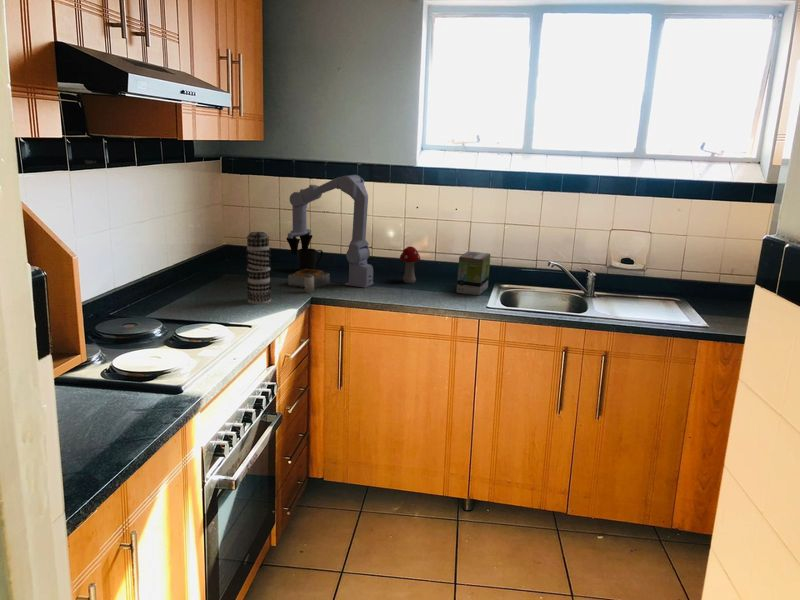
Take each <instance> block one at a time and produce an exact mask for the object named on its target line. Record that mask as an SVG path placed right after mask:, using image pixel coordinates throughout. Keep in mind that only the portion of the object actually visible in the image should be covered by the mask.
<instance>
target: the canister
mask: <svg viewBox="0 0 800 600" xmlns="http://www.w3.org/2000/svg"><path fill="white" fill-rule="evenodd" d="M304 280H305V288H304V293H305V292H307V293H306V294H312V293H311V292H313V293H315V289H314V276H312V275H304Z"/></svg>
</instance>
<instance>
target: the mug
mask: <svg viewBox="0 0 800 600" xmlns="http://www.w3.org/2000/svg"><path fill="white" fill-rule="evenodd" d="M318 252H320V254H319V257H318V260H317V253H318ZM323 254H324V251H323V249H315V248H310V247H308V251H307V252H302V248H298V253H297V262H298V265H299V269H300V270H303V269H312V270H316V269H317V267H318V265H319V264H320V261H321V260H322V257H323ZM300 270H299V271H300Z"/></svg>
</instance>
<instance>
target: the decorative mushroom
mask: <svg viewBox="0 0 800 600" xmlns="http://www.w3.org/2000/svg"><path fill="white" fill-rule="evenodd" d="M399 260H400V261H402V262H403V263H405V268H404V275H403V277H402V279H403V282H404V283H405V284H414V283H416V281H417V278H416V275H415V264H416V263H418V262H421V255H420V253H419V252H418V250H417V249H416V248H415V247H414V246H410V245H409V246H407V247H405V248H404V249H403V250H402V252H401V254H400V256H399Z"/></svg>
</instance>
